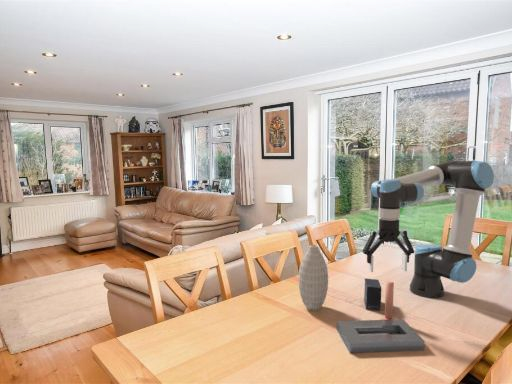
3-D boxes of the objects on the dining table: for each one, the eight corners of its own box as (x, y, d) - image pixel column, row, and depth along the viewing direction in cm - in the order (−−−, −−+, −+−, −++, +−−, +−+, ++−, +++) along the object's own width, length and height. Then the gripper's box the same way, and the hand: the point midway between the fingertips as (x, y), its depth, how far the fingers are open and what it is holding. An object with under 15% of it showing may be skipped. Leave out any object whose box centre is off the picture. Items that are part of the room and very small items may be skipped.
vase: (330, 304, 159) (331, 243, 156) (323, 316, 148) (324, 250, 145) (303, 300, 165) (303, 240, 162) (294, 311, 153) (294, 247, 150)
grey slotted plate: (402, 327, 138) (402, 319, 138) (423, 350, 122) (424, 340, 122) (336, 329, 137) (336, 321, 136) (349, 353, 121) (349, 343, 120)
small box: (381, 310, 153) (382, 287, 152) (365, 309, 154) (366, 286, 153) (378, 300, 163) (378, 278, 162) (363, 299, 164) (364, 278, 163)
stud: (391, 317, 146) (393, 280, 145) (397, 323, 141) (398, 284, 140) (380, 318, 146) (381, 280, 144) (385, 323, 141) (386, 285, 139)
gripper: (415, 216, 144) (413, 266, 146) (355, 217, 143) (354, 268, 145) (425, 219, 136) (422, 272, 139) (361, 221, 136) (360, 274, 138)
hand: (387, 270), depth 142 cm, fingers open, 13 cm apart
